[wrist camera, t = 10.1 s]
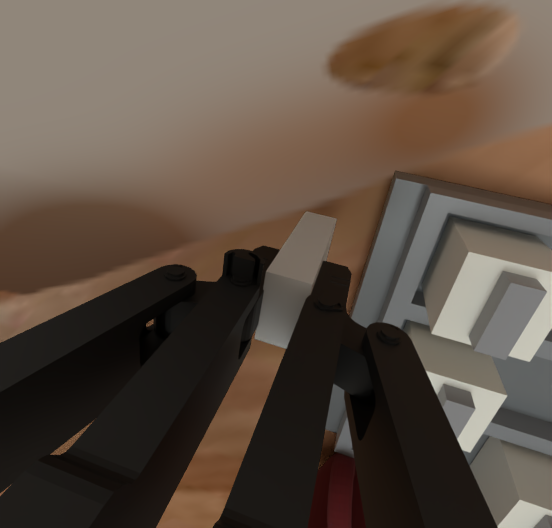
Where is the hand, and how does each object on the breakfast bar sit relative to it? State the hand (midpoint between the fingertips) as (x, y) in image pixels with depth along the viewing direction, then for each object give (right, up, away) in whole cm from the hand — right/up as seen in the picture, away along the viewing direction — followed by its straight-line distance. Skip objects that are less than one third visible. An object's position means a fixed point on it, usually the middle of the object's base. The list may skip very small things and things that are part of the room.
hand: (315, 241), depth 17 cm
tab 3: (+13, -13, +5) cm, 19 cm away
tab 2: (+7, -6, +4) cm, 10 cm away
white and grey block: (+8, -1, +1) cm, 8 cm away
